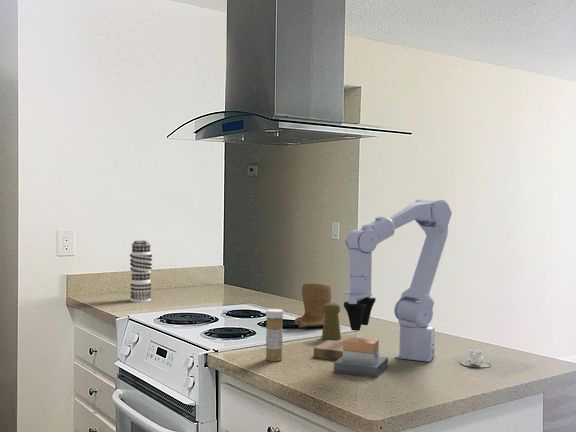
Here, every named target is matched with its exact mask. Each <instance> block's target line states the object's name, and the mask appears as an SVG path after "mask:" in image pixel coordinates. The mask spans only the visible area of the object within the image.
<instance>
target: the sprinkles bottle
mask: <svg viewBox="0 0 576 432" xmlns="http://www.w3.org/2000/svg"><path fill="white" fill-rule="evenodd" d="M265 317H266V333H265V335H266V336H265V347H266V348H265V349H266V351H265V352H266V353H265V355H266V356H265V360H267V361H269V362H281V361H282V360H283V337H284V336H283V335H284V334H283V333H284V331H283V330H284V329H283V318H284V310H283V309H279V308H269V309H266V312H265Z"/></svg>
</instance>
